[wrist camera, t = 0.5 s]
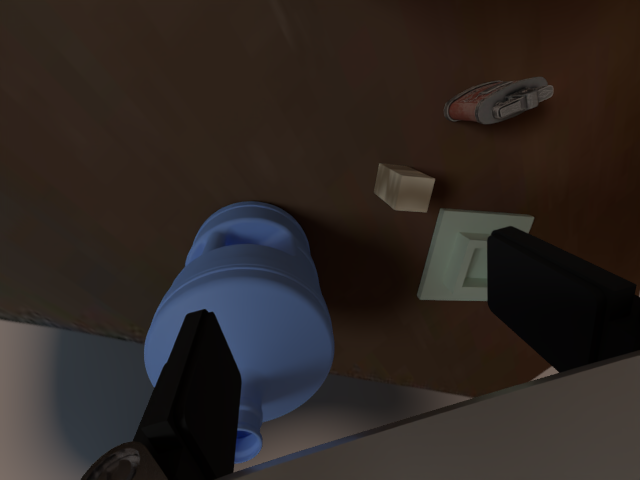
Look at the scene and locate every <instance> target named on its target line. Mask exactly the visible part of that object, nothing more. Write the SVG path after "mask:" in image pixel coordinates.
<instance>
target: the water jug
mask: <svg viewBox="0 0 640 480" xmlns="http://www.w3.org/2000/svg"><path fill="white" fill-rule="evenodd" d="M202 309H206V310H207V311H208V312H214V314H215V316H216V318H217V320H218V323H219V325H220V327H221V329H222V332H223V334H224V336H225V339H226V341H227V343H228V346H229V348H230V350H231V353H232V355H233V357H234V360H235V362H236V364H237V367H238V369H239V371H240V374H241V379H242V386H241V397H240V407H239V418H238V428H237V439H236V450H235V460H234V464H236V463H242V462H245V461H248V460H250V459H252V458H254V457H255V456H256V455H257V454H258V453H259V452H260V450H261V448H262V436H261V434H260V427H261V425H262V422H265V421H269V420H272V419H275V418H278V417H280V416H283V415H285V414H287V413H289V412H291V411H292V410H294V409H296V408H298V407H299V406H301V405H302V404H303V403H305V402H306V401H307V400H308V399H309V398H311V397H312V395H314V393H315V392H316V391H317V390H318V389H319V388H320V386H321V385H322V383H323V382H324V381H325V379H326V377H327V375H328V373H329V371H330V368H331V365H332V362H333V357H334V337H333V331H332V324H331V319H330V315H329V312H328V308H327V305H326V303H325V300H324V298H323V296H322V293H321V290H320V286H319V280H318V274H317V271H316V268H315V264H314V262H313V260H312V258H311V256H310V247H309V243H308V240H307V237H306V235H305V233H304V231H303V229H302V227H301V226H300V225H299V223H298V222H297V221H296V220H295V219H294V218H293V217H292V216H291V215H290V214H288V213H287V212H286V211H284V210H282V209H280V208H278V207H276V206H274V205H271V204H268V203H263V202H256V201H246V202H239V203H234V204H231V205H228V206H226V207H224V208H222V209H220V210H218V211H217V212H215V213H214V214H212V215H211V216H210V217H209V218H208V219H207V220H206V221H205V222H204V224H203V225H202V226H201V228H200V230H199V231H198V233H197V235H196V237H195V240H194V243H193V246H192V248H191V249H190V251H189V254H188V256H187V259H186V264H185V268H184V269H183V270H182V271H181V272H180V273H179V275H178V276H177V277H176V279H175V280H174V282H173V284H172V286H171V288H170V289H169V290H168V292H167V293H166V294H165V296H164V298H163V299H162V301H161V303H160V305H159V307H158V309H157V311H156V313H155V315H154V318H153V320H152V323H151V327H150V329H149V331H148V334H147V337H146V341H145V347H144V361H145V367H146V371H147V374H148V377H149V379H150V381H151V383H152V385H153V386H154V388H155V385H156V383H157V381H158V378H159V376H160V373H161V371H162V368H163V366H164V365H165V363H167V361H168V358H169V356H170V353H171V351H172V348H173V346H174V343H175V341H176V338H177V336H178V333H179V331H180V328H181V326H182V323H183V321H184V318H185V316H186V314H188V313H191V312H195V311H199V310H202Z"/></svg>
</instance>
